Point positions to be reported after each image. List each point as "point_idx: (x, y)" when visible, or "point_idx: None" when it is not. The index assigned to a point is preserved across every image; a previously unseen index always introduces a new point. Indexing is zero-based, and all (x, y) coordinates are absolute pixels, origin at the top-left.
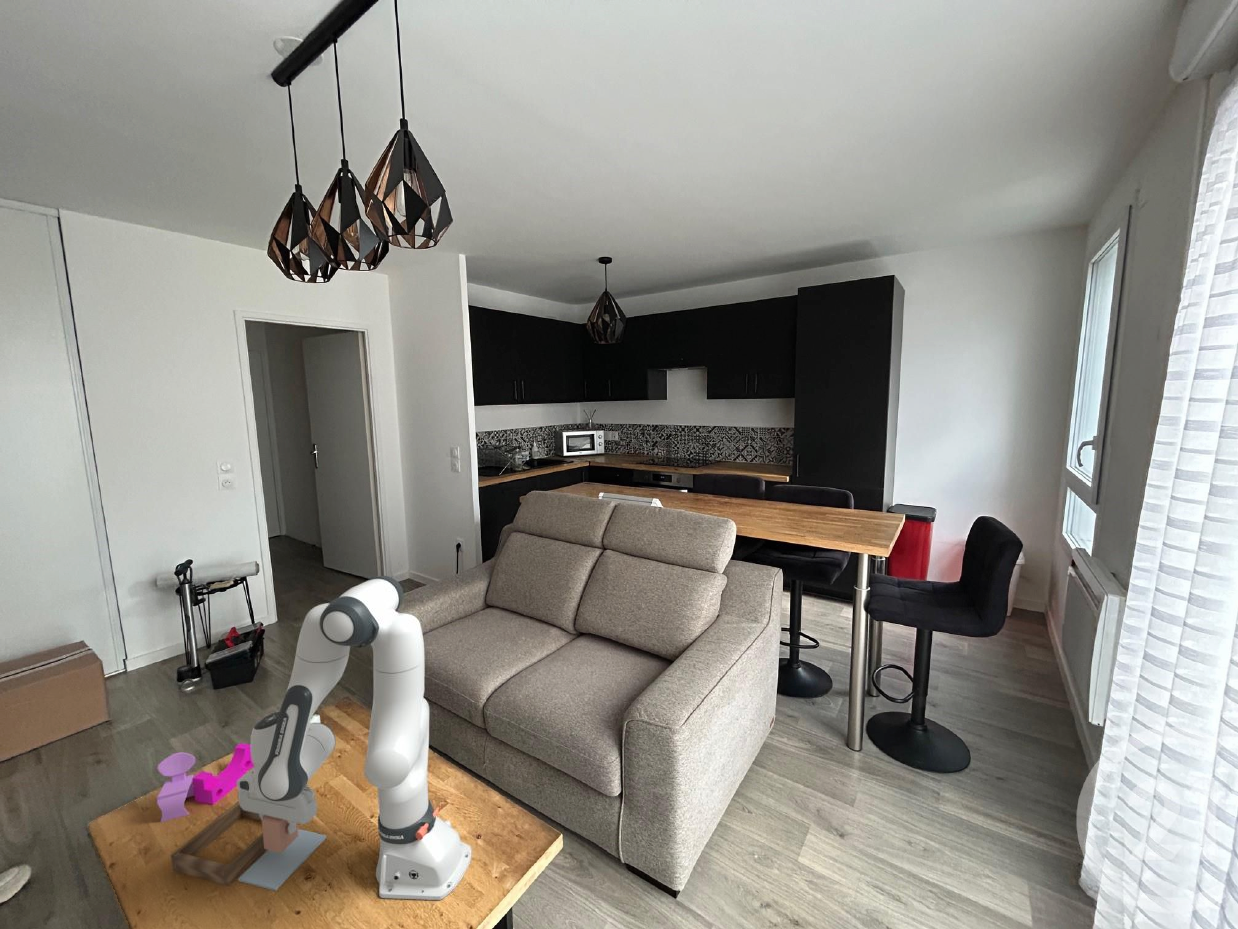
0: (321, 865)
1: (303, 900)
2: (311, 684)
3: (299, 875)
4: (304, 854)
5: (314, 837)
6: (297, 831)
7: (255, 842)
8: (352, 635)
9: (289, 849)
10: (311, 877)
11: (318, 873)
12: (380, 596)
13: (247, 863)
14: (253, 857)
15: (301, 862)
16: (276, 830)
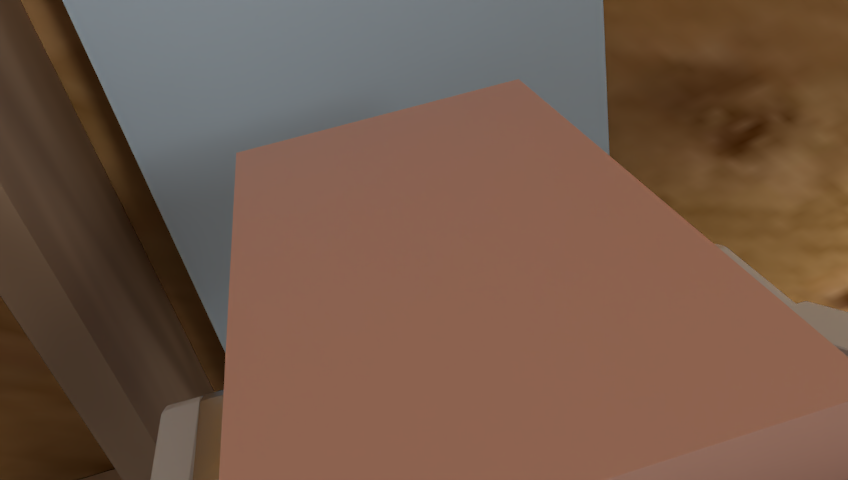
0: (772, 12)
1: (833, 247)
2: None
3: (660, 162)
4: (570, 43)
5: None
6: (548, 110)
7: (101, 381)
8: None
9: (362, 84)
10: (767, 125)
11: (799, 75)
12: None
13: (184, 372)
14: (156, 324)
15: (604, 103)
16: None
